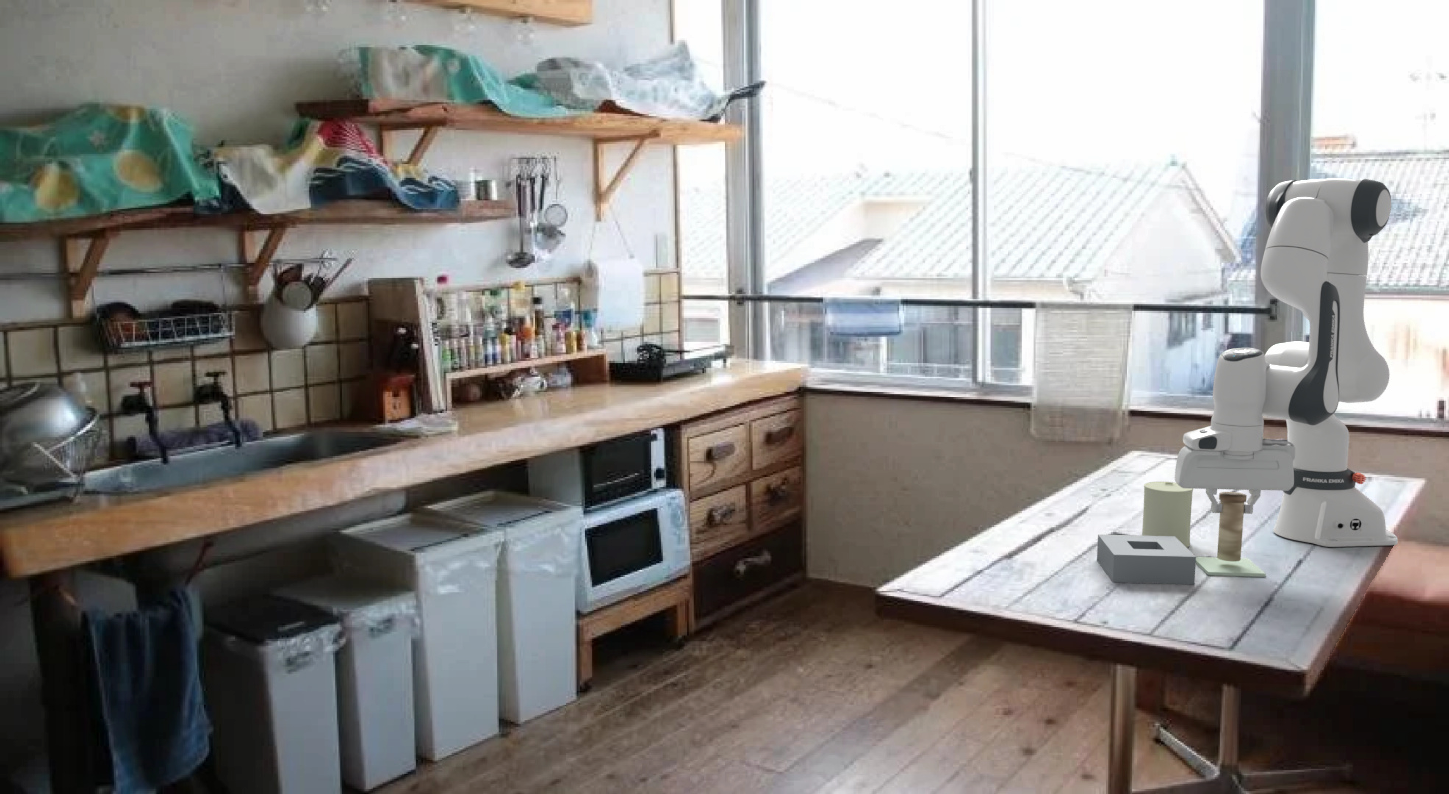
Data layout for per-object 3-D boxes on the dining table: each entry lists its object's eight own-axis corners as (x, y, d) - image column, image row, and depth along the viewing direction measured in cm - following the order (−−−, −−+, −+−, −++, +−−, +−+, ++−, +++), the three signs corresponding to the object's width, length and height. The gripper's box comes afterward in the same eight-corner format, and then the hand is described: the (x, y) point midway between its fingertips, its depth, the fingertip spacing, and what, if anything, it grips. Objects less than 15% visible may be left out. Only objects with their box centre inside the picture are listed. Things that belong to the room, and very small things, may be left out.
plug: (1237, 555, 226) (1241, 492, 225) (1246, 562, 222) (1250, 497, 220) (1211, 554, 227) (1215, 491, 225) (1220, 561, 222) (1224, 497, 220)
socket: (1173, 562, 228) (1174, 536, 228) (1194, 584, 215) (1196, 556, 214) (1096, 560, 230) (1098, 534, 229) (1112, 582, 216) (1114, 554, 215)
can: (1189, 539, 245) (1192, 480, 243) (1191, 551, 236) (1194, 490, 234) (1141, 535, 248) (1143, 477, 246) (1140, 547, 239) (1143, 487, 237)
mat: (1247, 561, 229) (1247, 558, 229) (1265, 576, 219) (1265, 573, 219) (1192, 560, 230) (1192, 556, 230) (1208, 575, 220) (1208, 572, 220)
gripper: (1289, 436, 223) (1284, 510, 225) (1174, 434, 225) (1170, 507, 227) (1302, 442, 217) (1297, 518, 219) (1183, 440, 219) (1179, 515, 221)
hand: (1231, 512), depth 223 cm, fingers closed on plug, 4 cm apart
